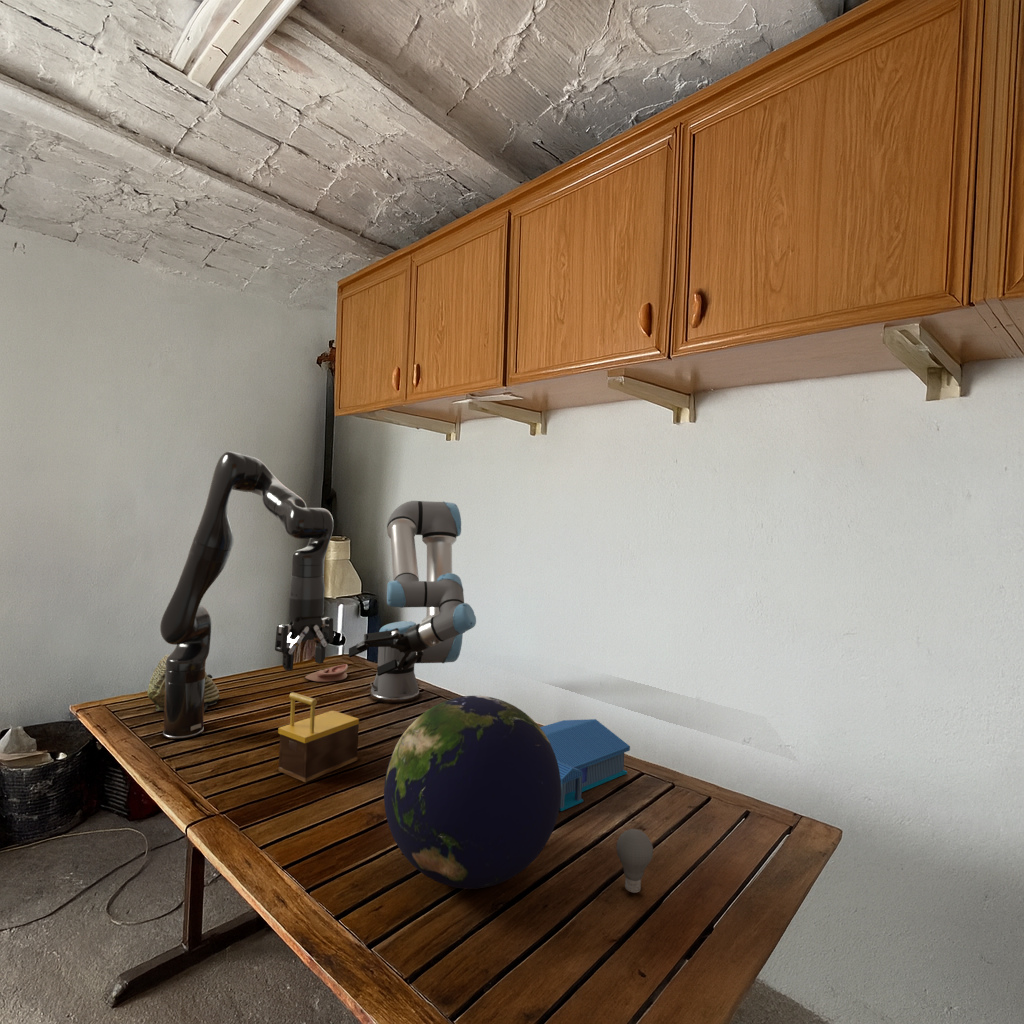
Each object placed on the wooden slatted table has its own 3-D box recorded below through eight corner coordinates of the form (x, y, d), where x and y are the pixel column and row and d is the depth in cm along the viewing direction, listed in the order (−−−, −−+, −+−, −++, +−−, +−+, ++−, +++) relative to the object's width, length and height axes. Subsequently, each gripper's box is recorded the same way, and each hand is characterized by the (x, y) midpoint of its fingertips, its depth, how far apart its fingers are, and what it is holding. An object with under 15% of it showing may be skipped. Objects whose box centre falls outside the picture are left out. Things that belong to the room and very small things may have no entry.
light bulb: (610, 879, 108) (613, 822, 108) (644, 879, 109) (647, 822, 109) (619, 902, 102) (622, 840, 102) (655, 901, 103) (658, 840, 103)
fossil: (144, 707, 182) (145, 655, 182) (212, 696, 194) (213, 647, 194) (151, 716, 175) (153, 662, 175) (221, 703, 188) (223, 653, 188)
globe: (343, 899, 100) (350, 710, 100) (435, 815, 128) (441, 667, 127) (518, 958, 89) (528, 746, 88) (578, 852, 117) (585, 690, 116)
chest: (305, 782, 140) (306, 743, 140) (278, 770, 145) (279, 733, 145) (357, 760, 153) (358, 724, 153) (331, 750, 158) (332, 715, 158)
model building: (516, 830, 123) (519, 779, 123) (442, 785, 141) (444, 740, 141) (638, 777, 150) (640, 735, 149) (562, 745, 168) (564, 707, 167)
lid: (305, 743, 140) (306, 703, 139) (278, 733, 145) (279, 694, 144) (358, 723, 153) (360, 687, 153) (332, 715, 158) (333, 679, 158)
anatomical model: (300, 668, 215) (317, 660, 226) (300, 679, 215) (317, 671, 226) (336, 672, 212) (352, 663, 224) (336, 683, 212) (351, 675, 224)
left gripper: (291, 600, 136) (288, 676, 136) (342, 594, 148) (339, 663, 148) (269, 596, 140) (266, 669, 140) (320, 590, 152) (318, 657, 152)
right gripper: (400, 626, 170) (336, 656, 175) (449, 664, 187) (389, 689, 192) (399, 604, 175) (337, 633, 180) (446, 642, 193) (388, 668, 197)
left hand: (304, 666), depth 144 cm, fingers open, 8 cm apart
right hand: (364, 662), depth 186 cm, fingers open, 13 cm apart
